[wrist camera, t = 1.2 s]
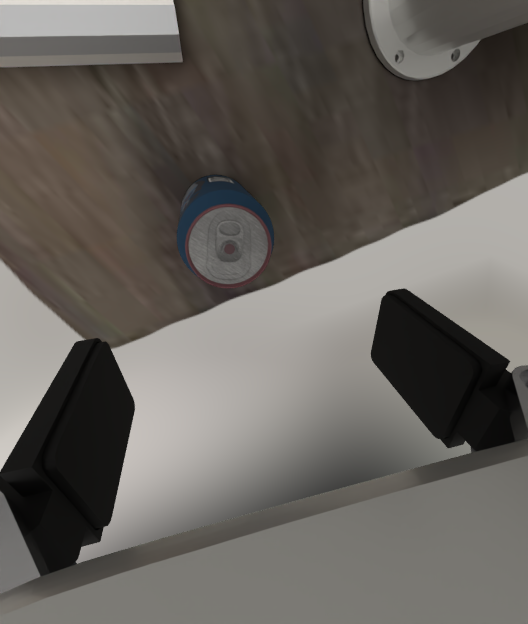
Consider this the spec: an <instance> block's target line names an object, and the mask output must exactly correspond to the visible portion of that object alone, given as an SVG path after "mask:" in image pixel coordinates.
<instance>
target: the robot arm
mask: <svg viewBox="0 0 528 624" xmlns="http://www.w3.org/2000/svg"><path fill="white" fill-rule="evenodd" d="M363 8H364V16H365V24H366V28H367V32H368V35H369V39H370V43H371V45H372V47H373V49H374V51H375V53H376V55H377V57H378V58H379V60H380V61H381V62H382V64H383V65H384V66H385V67H386V68H387V69H388V70H389V71H391V72H392V73H393V74H394V75H396V76H398V77H401V78H403V79H406V80H416V81H417V80H423V79H429V78H432V77H435V76H438V75H441V74H443V73H445V72H447V71H448V70H450V69H452V68H454V67H455V66H456V65H457V64H459V63H460V62H461V61H462V60H463V59H465V58H466V57H467V56H468V54H469V53H470V52H471V51H472V50H473V49H474V48H475V47H476V46H477V44H478V43H479V42H480V40H481V39H483V38H486V37H489V36H491V35H494V34H497V33H500V32H503V31H506V30H509V29H511V28H514V27H517V26H520V25H523V24H526V23H528V0H363ZM395 58H396V60H395ZM371 358H372V361H373V362H374V364H375V365H376V366H377V367H378V368H379V370H380V371H381V372H382V373H383V375H384V376H385V377H386V378H387V379H388V380H389V382H390V383H391V384H392V386H393V387H394V388H395V389H396V390H397V392H398V393H399V394H400V395H401V396H402V398H403V399H404V400H405V401H406V403H407V404H408V405H409V406H410V407H411V409H412V410H413V411H414V412H415V414H416V415H417V416H418V417H419V419H420V420H421V421H422V422H423V423H424V425H425V426H426V427H427V428H428V430H429V431H430V432H431V433H432V434H433V435H434V436H435V437H436V438H438V439H441V441H442V442H443V443H444V444H445V445H446V447H447V448H451V447H455V446H459V445H463V444H464V442H465V441H466V442H467V443H468V444H469V445H470V446H471V453H470V454H466V455H463V456H459V457H455V458H451V459H448V460H444V461H440V462H436V463H433V464H429V465H425V466H421V467H418V468H414V469H410V470H406V471H403V472H399V473H396V474H392V475H388V476H385V477H381V478H377V479H373V480H370V481H366V482H362V483H359V484H355V485H352V486H348V487H344V488H341V489H337V490H333V491H330V492H326V493H322V494H319V495H316V496H312V497H308V498H305V499H301V500H297V501H294V502H290V503H286V504H283V505H279V506H275V507H272V508H268V509H265V510H262V511H258V512H254V513H251V514H247V515H243V516H240V517H236V518H233V519H229V520H225V521H222V522H219V523H215V524H211V525H208V526H204V527H200V528H197V529H194V530H190V531H187V532H183V533H179V534H176V535H172V536H168V537H165V538H161V539H158V540H155V541H151V542H148V543H145V544H141V545H138V546H135V547H131V548H128V549H125V550H121V551H118V552H115V553H111V554H108V555H105V556H101V557H98V558H95V559H91V560H88V561H85V562H81V563H79V564H77V563H76V560H77V559H78V556H79V553H80V550H81V547H82V546H86V545H89V544H93V543H97V542H100V540H101V536H102V532H103V527H105V526H108V524H109V523H110V521H111V517H112V513H113V509H114V504H115V499H116V495H117V490H118V486H119V481H120V476H121V472H122V467H123V462H124V458H125V453H126V448H127V444H128V439H129V434H130V430H131V425H132V420H133V416H134V411H135V404H134V400H133V397H132V395H131V393H130V391H129V389H128V387H127V384H126V382H125V380H124V377H123V375H122V373H121V371H120V369H119V366H118V364H117V362H116V360H115V357H114V355H113V353H112V351H111V349H110V346H109V344H108V343H107V342H102V341H101V340H100V339H98V338H95V339H89V340H83V341H78V342H76V343H75V344H74V346H73V347H72V349H71V351H70V352H69V354H68V356H67V358H66V359H65V361H64V363H63V365H62V366H61V368H60V370H59V371H58V373H57V375H56V377H55V378H54V380H53V382H52V383H51V385H50V387H49V389H48V390H47V392H46V394H45V395H44V397H43V399H42V401H41V402H40V404H39V406H38V408H37V409H36V411H35V413H34V414H33V416H32V418H31V420H30V421H29V423H28V425H27V426H26V428H25V430H24V432H23V433H22V435H21V437H20V438H19V440H18V442H17V444H16V445H15V447H14V449H13V451H12V452H11V454H10V456H9V457H8V459H7V461H6V463H5V464H4V466H3V468H2V469H1V472H0V624H528V366H519V367H517V368H515V369H514V370H513V371H512V373H510V372H508V371H507V370H506V368H507V366H508V364H509V362H510V361H509V360H508V359H507V358H505V357H504V356H502V355H501V354H499V353H498V352H496V351H495V350H493V349H492V348H491V347H489V346H488V345H486V344H485V343H483V342H482V341H481V340H479V339H478V338H476V337H475V336H473V335H472V334H470V333H469V332H468V331H466V330H465V329H463V328H462V327H460V326H459V325H457V324H456V323H454V322H453V321H452V320H450V319H449V318H447V317H446V316H444V315H443V314H442V313H440V312H439V311H437V310H436V309H434V308H433V307H431V306H430V305H428V304H427V303H426V302H424V301H423V300H421V299H420V298H418V297H417V296H415V295H414V294H413V293H411V292H410V291H408V290H407V289H398V290H392V291H388V292H387V293H386V295H385V296H383V298H382V300H381V305H380V310H379V315H378V320H377V325H376V330H375V335H374V340H373V345H372V350H371Z"/></svg>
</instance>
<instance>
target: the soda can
mask: <svg viewBox="0 0 528 624" xmlns="http://www.w3.org/2000/svg"><path fill="white" fill-rule="evenodd" d="M177 245H178V249H179V253H180V255H181V257H182V259H183V261H184V263H185V264H186V266H187V267H188V268H189V269H190V270H191V271H192V272H193V273H194V274H195V275H196V276H198V277H199V278H201V279H202V280H203V281H205V282H206V283H208V284H210V285H213V286H216V287H220V288H236V287H241V286H244V285H246V284H248V283H250V282H252V281H253V280H255V279H256V278H257V277H258V276H259V275H260V274H261V273H262V272H263V271H264V269H265V268H266V266H267V264H268V262H269V259H270V256H271V254H272V250H273V245H274V231H273V226H272V223H271V220H270V218H269V216H268V214H267V212H266V211H265V209H264V208H263V207H262V206H261V205H260V204H259V203H258V202H257V201H256V200H255V199H254V198H253V197H252V196H251V195H250V194H249V193H248V192H247V191H246V190H245V189H244V188H243V187H242V186H241V185H240V184H239V183H238V182H236V181H235V180H233V179H231V178H229V177H226V176H222V175H210V176H206V177H203V178H201V179H199V180H197V181H196V182H194V183H193V184H192V185H191V186H190V187H189V189H188V190H187V191H186V193H185V195H184V198H183V201H182V206H181V212H180V218H179V224H178V230H177Z"/></svg>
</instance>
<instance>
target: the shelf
mask: <svg viewBox="0 0 528 624" xmlns="http://www.w3.org/2000/svg"><path fill="white" fill-rule="evenodd" d="M174 62H183V59H182V52H181V45H180V37H179V31H178V25H177V18H176V12H175V6H174V3H173V0H0V67H34V66H69V65H104V64H139V63H174Z"/></svg>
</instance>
